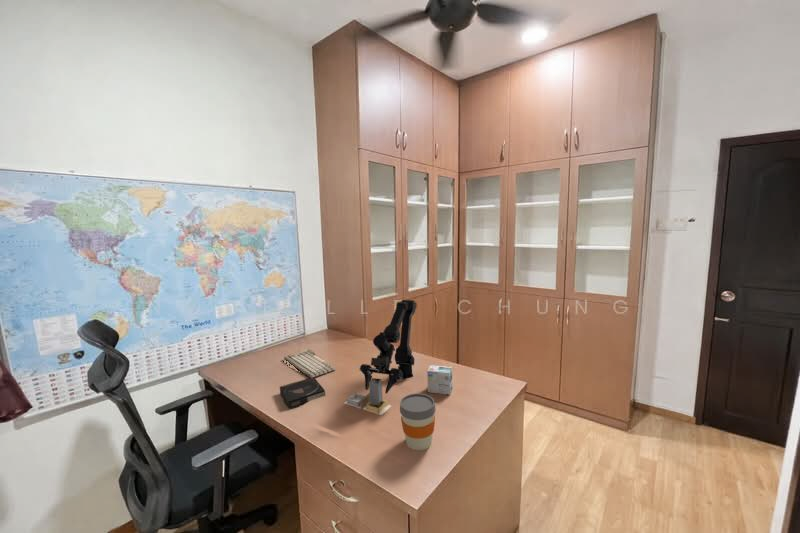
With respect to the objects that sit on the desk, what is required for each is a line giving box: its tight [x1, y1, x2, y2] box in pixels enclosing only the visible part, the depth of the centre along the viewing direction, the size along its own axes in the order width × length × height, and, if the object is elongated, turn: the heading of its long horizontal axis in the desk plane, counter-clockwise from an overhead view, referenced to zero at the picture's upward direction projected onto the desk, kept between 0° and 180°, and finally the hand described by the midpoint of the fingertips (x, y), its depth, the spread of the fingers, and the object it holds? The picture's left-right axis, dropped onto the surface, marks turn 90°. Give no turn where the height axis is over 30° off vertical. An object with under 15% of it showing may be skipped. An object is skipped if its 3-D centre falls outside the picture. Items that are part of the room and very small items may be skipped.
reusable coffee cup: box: [399, 393, 436, 451], centre depth 114 cm, size 13×13×15 cm
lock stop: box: [368, 377, 384, 408], centre depth 135 cm, size 4×4×12 cm
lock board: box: [344, 392, 392, 416], centre depth 139 cm, size 20×8×5 cm, turn 59°
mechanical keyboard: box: [283, 348, 336, 379], centre depth 185 cm, size 38×19×3 cm, turn 42°
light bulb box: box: [426, 364, 454, 396], centre depth 149 cm, size 11×7×11 cm, turn 71°
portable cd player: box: [279, 377, 326, 410], centre depth 151 cm, size 16×17×4 cm
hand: (376, 391), depth 135 cm, fingers open, 9 cm apart
